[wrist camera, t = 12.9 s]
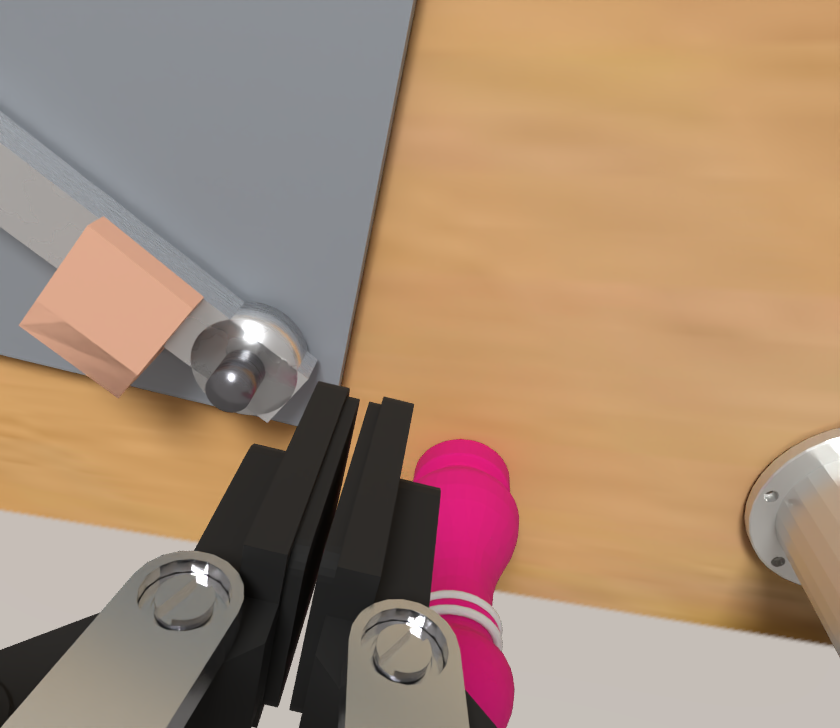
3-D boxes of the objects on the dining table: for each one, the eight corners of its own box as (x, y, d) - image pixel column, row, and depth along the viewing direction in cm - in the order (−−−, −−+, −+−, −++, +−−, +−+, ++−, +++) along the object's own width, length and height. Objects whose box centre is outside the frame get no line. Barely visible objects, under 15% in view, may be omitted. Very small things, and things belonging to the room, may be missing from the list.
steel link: (328, 348, 39) (307, 391, 35) (269, 411, 42) (243, 459, 37) (-57, 44, 34) (-140, 50, 29) (-100, 138, 36) (-182, 158, 32)
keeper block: (238, 261, 40) (192, 308, 34) (171, 341, 43) (118, 398, 36) (152, 189, 38) (87, 225, 32) (88, 277, 41) (18, 325, 35)
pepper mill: (433, 530, 48) (398, 840, 30) (389, 450, 45) (323, 740, 27) (532, 503, 46) (557, 817, 28) (493, 417, 43) (494, 707, 25)
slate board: (433, -85, 31) (430, -89, 30) (334, 420, 44) (329, 433, 43) (-140, -234, 30) (-168, -245, 29) (-65, 324, 44) (-83, 334, 42)
